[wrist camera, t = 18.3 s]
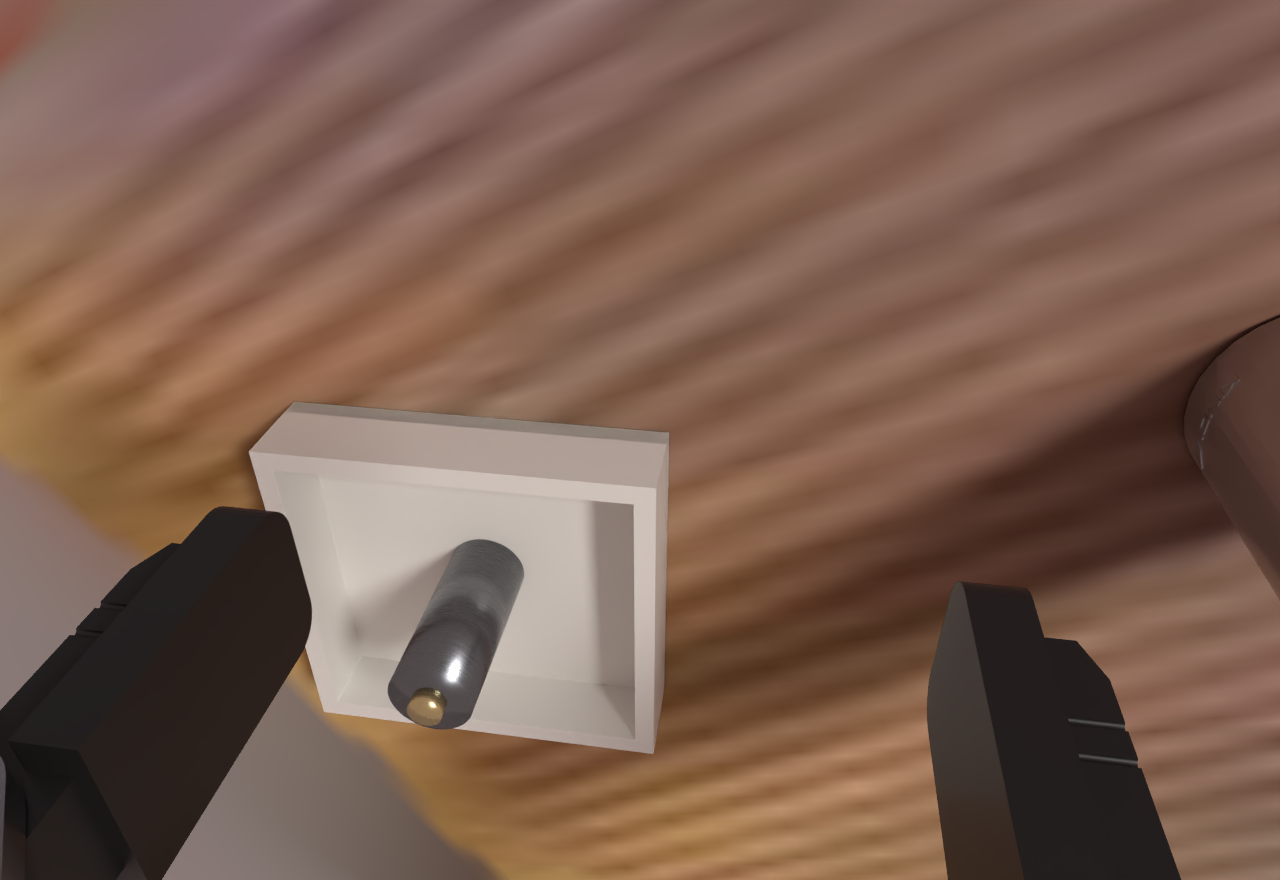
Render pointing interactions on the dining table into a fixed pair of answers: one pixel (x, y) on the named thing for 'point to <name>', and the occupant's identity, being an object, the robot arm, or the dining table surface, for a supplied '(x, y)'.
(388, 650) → the white square tray
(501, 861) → the dining table surface
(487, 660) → the cell
